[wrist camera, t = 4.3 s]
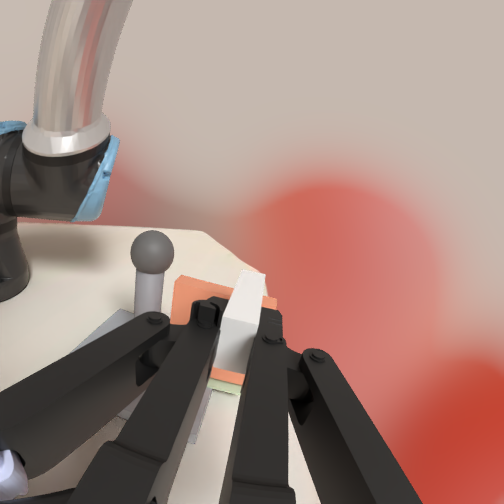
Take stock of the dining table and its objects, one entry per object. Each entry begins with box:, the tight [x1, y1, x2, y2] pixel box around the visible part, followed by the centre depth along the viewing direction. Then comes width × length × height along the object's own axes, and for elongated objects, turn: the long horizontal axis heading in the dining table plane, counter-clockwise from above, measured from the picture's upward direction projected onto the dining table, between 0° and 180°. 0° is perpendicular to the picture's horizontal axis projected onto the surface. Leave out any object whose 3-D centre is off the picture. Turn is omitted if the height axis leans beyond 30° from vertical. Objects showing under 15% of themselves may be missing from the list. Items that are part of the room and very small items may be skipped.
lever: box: [131, 230, 277, 385], centre depth 22 cm, size 12×4×12 cm, turn 85°
